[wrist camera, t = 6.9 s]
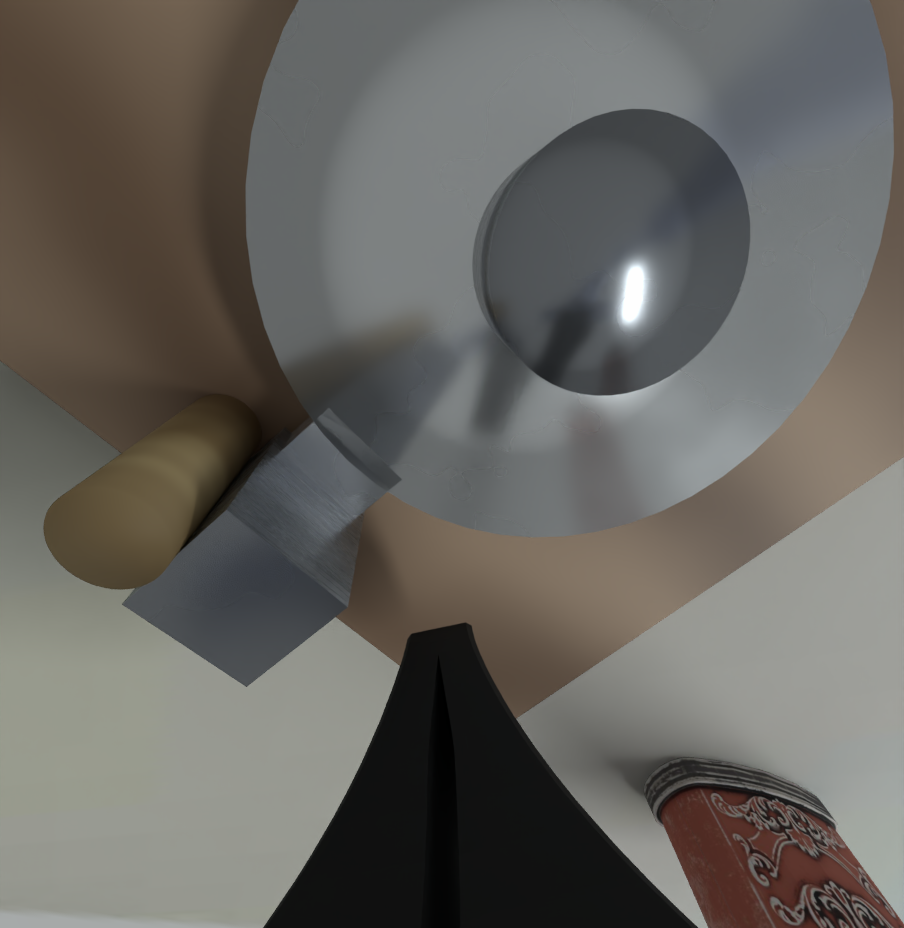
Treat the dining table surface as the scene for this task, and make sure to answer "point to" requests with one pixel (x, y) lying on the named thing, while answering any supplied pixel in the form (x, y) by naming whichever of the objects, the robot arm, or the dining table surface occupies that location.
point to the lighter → (761, 850)
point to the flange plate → (415, 188)
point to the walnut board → (265, 385)
